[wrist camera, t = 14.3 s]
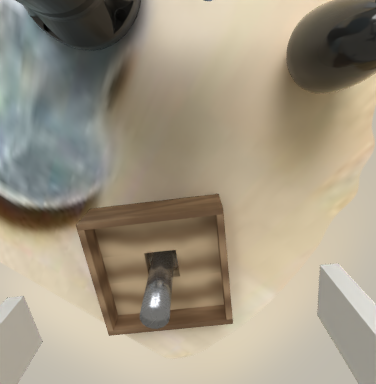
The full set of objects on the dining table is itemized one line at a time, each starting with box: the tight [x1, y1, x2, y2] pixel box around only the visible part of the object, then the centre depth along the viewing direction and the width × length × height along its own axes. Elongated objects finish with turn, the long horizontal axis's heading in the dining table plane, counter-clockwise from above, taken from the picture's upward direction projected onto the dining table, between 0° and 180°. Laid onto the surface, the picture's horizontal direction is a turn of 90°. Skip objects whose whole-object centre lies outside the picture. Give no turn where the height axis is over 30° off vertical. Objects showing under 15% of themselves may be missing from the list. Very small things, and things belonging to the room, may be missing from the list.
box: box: [76, 194, 233, 336], centre depth 45 cm, size 22×22×6 cm
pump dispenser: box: [287, 0, 376, 94], centre depth 30 cm, size 10×10×15 cm
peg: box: [140, 250, 175, 329], centre depth 41 cm, size 4×4×14 cm
